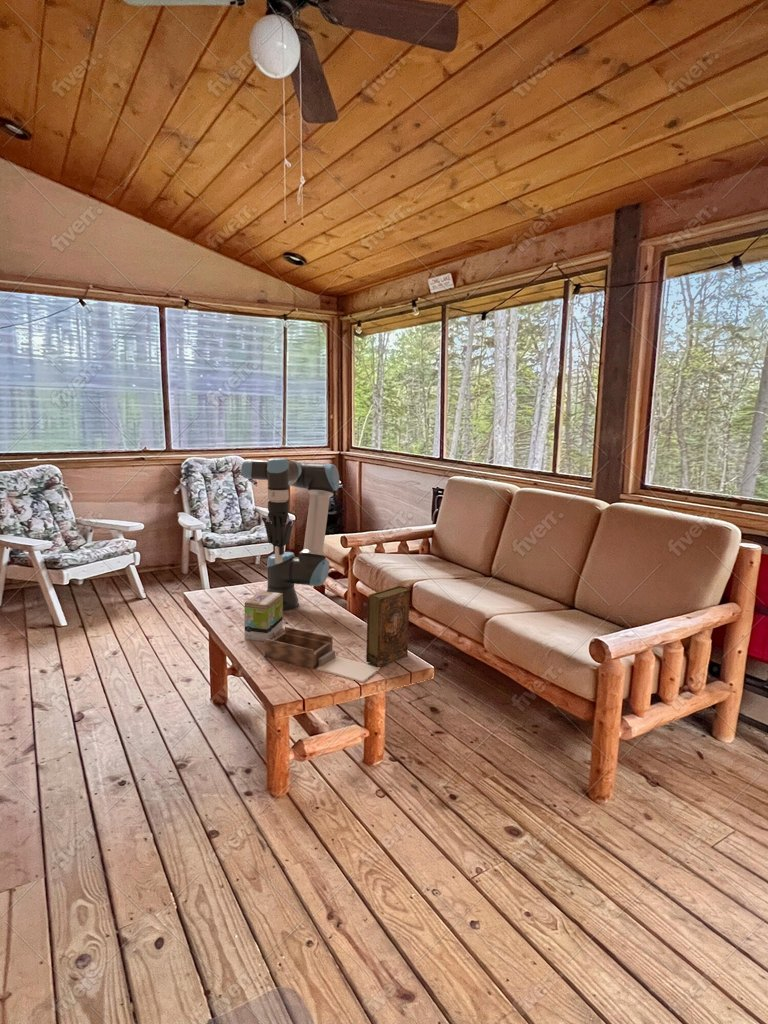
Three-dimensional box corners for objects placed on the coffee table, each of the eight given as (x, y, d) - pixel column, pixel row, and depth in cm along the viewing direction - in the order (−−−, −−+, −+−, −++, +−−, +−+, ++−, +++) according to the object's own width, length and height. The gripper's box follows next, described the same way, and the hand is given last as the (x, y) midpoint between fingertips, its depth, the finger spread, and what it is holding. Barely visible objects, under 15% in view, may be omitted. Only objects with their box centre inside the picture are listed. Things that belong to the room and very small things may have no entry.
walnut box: (264, 657, 206) (264, 639, 205) (285, 643, 218) (285, 626, 217) (313, 669, 198) (313, 650, 197) (332, 654, 210) (332, 636, 208)
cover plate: (316, 670, 198) (316, 660, 197) (334, 658, 208) (334, 648, 207) (362, 684, 189) (363, 673, 189) (379, 671, 199) (380, 660, 198)
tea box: (268, 642, 219) (268, 604, 216) (243, 639, 221) (243, 602, 218) (283, 627, 233) (283, 592, 231) (259, 625, 235) (259, 590, 233)
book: (398, 650, 215) (400, 585, 210) (409, 655, 211) (412, 588, 206) (366, 663, 203) (367, 595, 199) (377, 669, 199) (378, 599, 195)
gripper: (257, 500, 214) (258, 562, 218) (287, 503, 208) (287, 567, 213) (269, 497, 220) (270, 558, 225) (298, 500, 215) (299, 562, 220)
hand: (278, 562), depth 219 cm, fingers closed
